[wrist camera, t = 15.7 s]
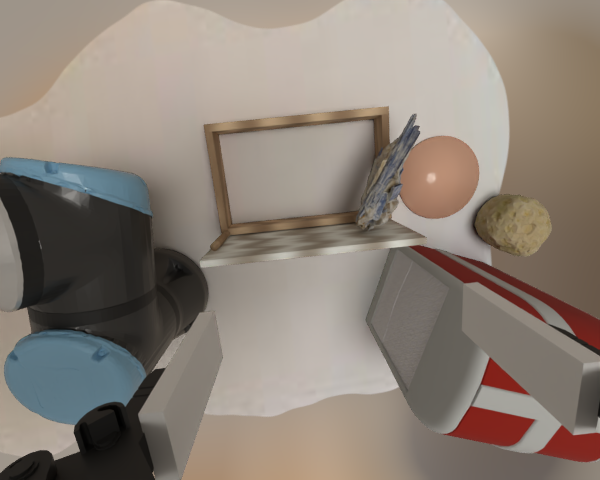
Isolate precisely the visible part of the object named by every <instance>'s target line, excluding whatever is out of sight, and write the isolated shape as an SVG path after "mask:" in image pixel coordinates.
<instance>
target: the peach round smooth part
mask: <svg viewBox="0 0 600 480" xmlns="http://www.w3.org/2000/svg"><path fill="white" fill-rule="evenodd" d="M403 168H404V170H403V172H402V174H401V181H400V182H401V184H403V185H402V188H401V191H400V196H401V198H402V200H403V202H404V203H405V205H406V206H407V207H408V208H409V209H410V210H411V211H413V212H414V213H416V214H417V215H420V216H423V217H426V218H433V219H436V218H444V217H447V216H450V215H452V214H454V213H456V212H458V211H459V210H460V209H462V208H463V207H464V206H465V205H466V204H467V203H468V202H469V201H470V199H471V198H472V196H473V194H474V192H475V190H476V188H477V185H478V180H479V165H478V161H477V158H476V156H475V154H474V152H473V151H472V149H471V148H470V147H469V146H468V145H467V144H466V143H464V142H463V141H461V140H459V139H457V138H454V137H450V136H437V137H432V138H429V139H426V140H424V141H422V142H420V143H419V144H417V145H416V146H415V147H413V148H412V149H411V151H410V153H409V156H408V157H407V159H406V161H405V162H404V164H403Z"/></svg>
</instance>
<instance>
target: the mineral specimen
mask: <svg viewBox="0 0 600 480" xmlns="http://www.w3.org/2000/svg"><path fill="white" fill-rule="evenodd" d="M416 116H417V114H414V115H413V114H412V116H411V117H410V119H409V121H408V123H407V125H406V127H405V129H404V131H403V132H402V134H401V135H400V136H399V138H397V139H396V140H395V141H394V142H393V143H391V144H389V145H387V146H386V147H385V149H384V150H383V148H381V150H380V151H379V154H378V156H377V158H376V159H375V160H374V163H373V166H372V170H371V173H370V176H369V178H368V182H367V187H366V188H365V191H364V193H363V196H362V199H361V206H360V208H359V212H358V214H357V217H356V224H357V227H361V228H362V229H363V230H364V228H365V227H366V226H367V229H368V231H369V230H370V229H373V228H374V226H375V225H379V226H381V225H383V224H385V223H386V222H388V219H389V215H390V214H391V213H392V212H393V211H394V210H395V209H396V208H397V205H398V203H399V201H398V200H397V196H398V195H399V193H400V191H401V188H402V185H403V184H401V182H400V181H401V174H402V172H403V170H404V168H403V164H404V162H405V161H406V159H407V157H408V156H409V153H410V151H411V149H412V147H413V146H414V144H415V142H416V140H417V138H418V136H419V134H420V131H418V129H419V127H420V126H416V125H415V126H414V127H413V125H414V122H415V119H416ZM382 150H383V151H382ZM381 153H382V154H381Z"/></svg>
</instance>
